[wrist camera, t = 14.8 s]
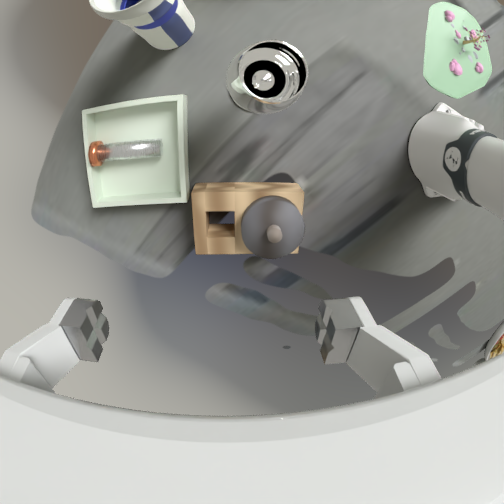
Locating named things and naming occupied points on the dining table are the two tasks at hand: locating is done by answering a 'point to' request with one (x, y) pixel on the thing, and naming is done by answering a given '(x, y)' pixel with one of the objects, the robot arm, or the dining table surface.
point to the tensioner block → (249, 218)
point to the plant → (455, 51)
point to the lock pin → (124, 150)
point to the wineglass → (267, 77)
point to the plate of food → (495, 343)
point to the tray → (141, 169)
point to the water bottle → (151, 19)
